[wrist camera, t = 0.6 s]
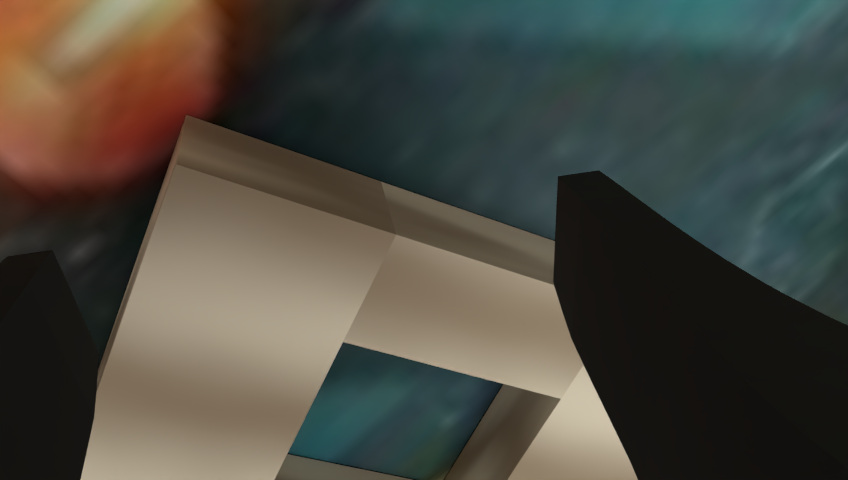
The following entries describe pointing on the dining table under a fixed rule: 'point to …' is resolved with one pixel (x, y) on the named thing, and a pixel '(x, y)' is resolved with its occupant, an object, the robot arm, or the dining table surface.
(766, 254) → the dining table surface
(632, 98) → the dining table surface
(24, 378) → the robot arm
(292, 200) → the dock
